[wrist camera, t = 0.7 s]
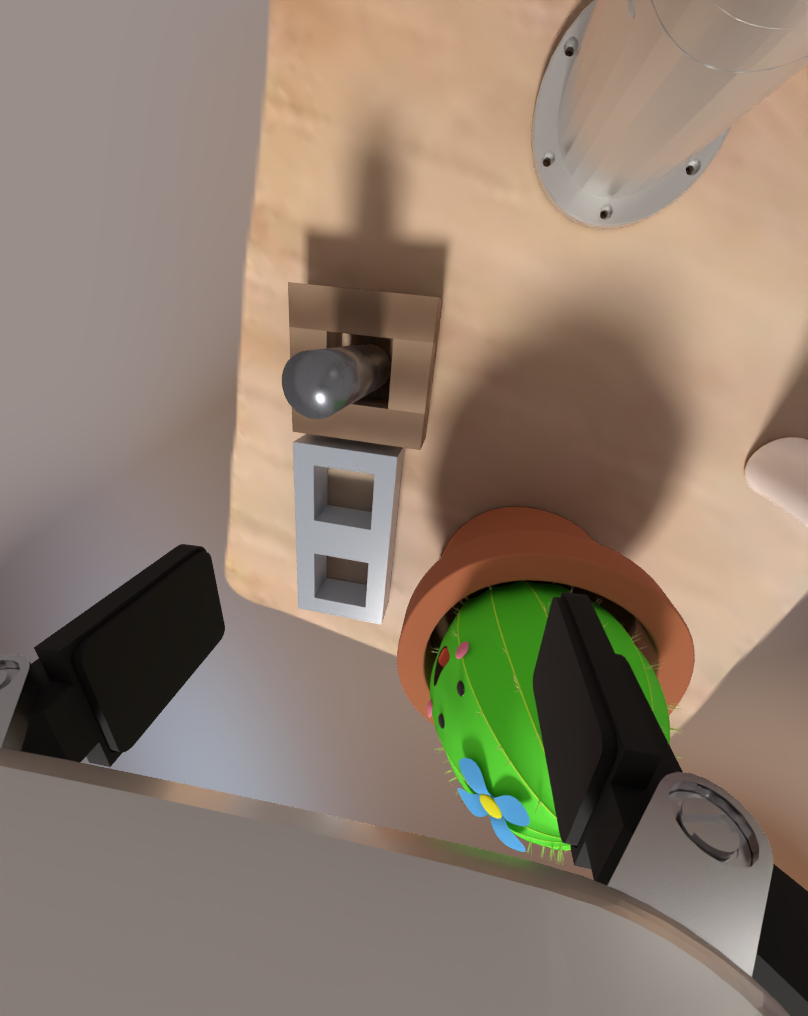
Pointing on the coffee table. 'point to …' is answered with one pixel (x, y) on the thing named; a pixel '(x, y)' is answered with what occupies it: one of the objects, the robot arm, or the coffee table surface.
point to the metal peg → (333, 378)
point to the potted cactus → (524, 653)
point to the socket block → (415, 334)
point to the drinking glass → (782, 475)
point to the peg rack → (345, 526)
